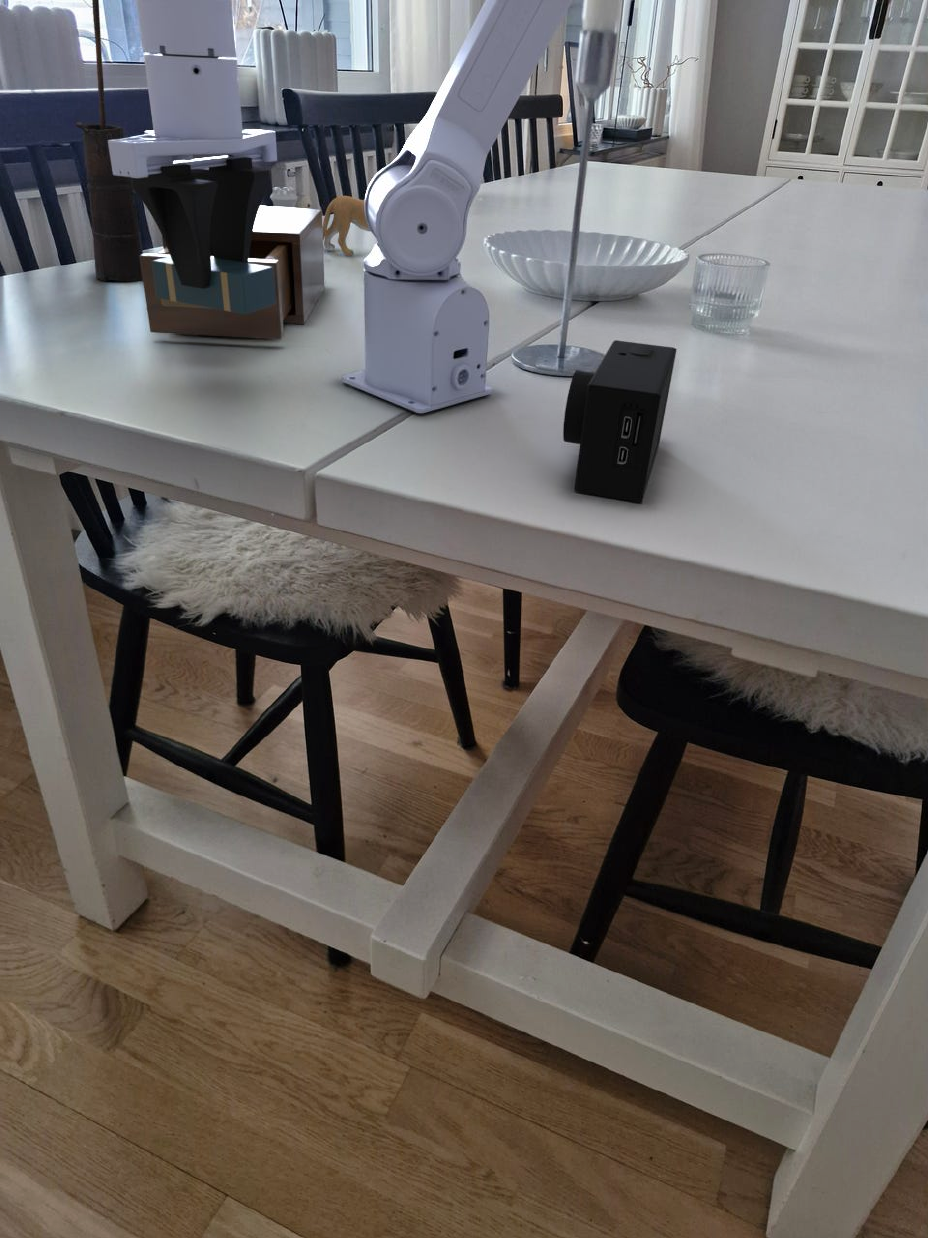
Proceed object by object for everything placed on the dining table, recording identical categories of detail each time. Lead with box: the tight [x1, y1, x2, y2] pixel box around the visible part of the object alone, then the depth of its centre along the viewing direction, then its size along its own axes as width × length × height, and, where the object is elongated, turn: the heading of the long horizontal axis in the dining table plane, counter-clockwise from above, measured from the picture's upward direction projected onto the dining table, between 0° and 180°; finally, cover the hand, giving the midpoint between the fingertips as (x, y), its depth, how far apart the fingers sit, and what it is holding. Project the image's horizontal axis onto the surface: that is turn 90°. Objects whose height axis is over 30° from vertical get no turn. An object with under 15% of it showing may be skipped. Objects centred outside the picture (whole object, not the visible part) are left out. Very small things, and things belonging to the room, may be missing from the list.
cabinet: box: [161, 205, 326, 325], centre depth 87 cm, size 15×13×8 cm
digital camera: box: [562, 339, 677, 504], centre depth 56 cm, size 10×5×7 cm, turn 163°
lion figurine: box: [322, 195, 372, 256], centre depth 111 cm, size 15×5×9 cm, turn 103°
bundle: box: [151, 256, 276, 314], centre depth 62 cm, size 8×4×3 cm, turn 65°
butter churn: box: [75, 0, 144, 282], centre depth 87 cm, size 9×10×28 cm
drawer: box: [139, 239, 295, 340], centre depth 77 cm, size 18×11×6 cm, turn 0°
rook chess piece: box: [269, 186, 298, 208], centre depth 105 cm, size 4×4×8 cm
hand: (214, 280), depth 62 cm, fingers closed on bundle, 3 cm apart
